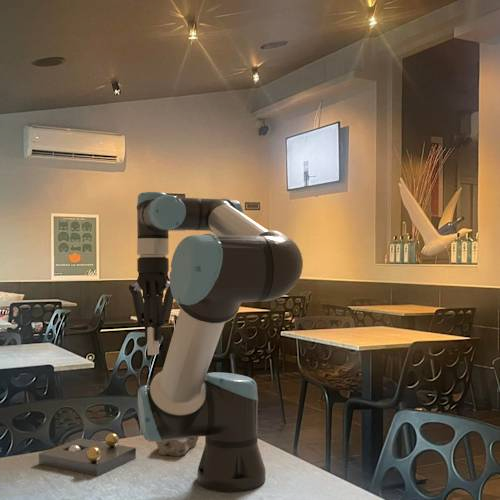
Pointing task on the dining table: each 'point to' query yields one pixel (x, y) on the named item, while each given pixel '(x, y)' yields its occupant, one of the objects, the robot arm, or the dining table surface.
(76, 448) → the steel ball
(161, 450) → the stone
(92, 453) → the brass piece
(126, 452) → the plate
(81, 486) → the dining table surface
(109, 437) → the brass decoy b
